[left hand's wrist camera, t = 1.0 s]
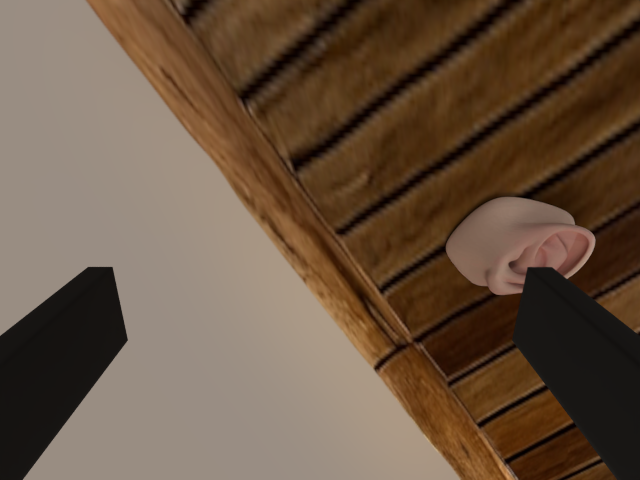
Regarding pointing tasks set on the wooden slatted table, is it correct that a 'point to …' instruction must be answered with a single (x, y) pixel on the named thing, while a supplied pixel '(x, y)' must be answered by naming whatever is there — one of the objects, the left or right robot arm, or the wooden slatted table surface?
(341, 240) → the wooden slatted table surface
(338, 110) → the wooden slatted table surface
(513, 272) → the anatomical model
